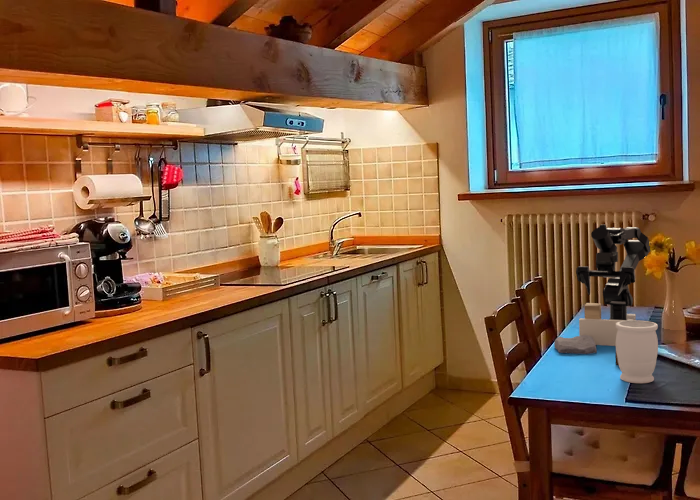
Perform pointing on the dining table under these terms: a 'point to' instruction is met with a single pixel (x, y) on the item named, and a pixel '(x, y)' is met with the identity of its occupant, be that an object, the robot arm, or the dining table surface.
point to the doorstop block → (592, 310)
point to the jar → (636, 350)
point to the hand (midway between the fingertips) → (603, 294)
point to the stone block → (576, 345)
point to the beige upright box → (599, 330)
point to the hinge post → (631, 316)
